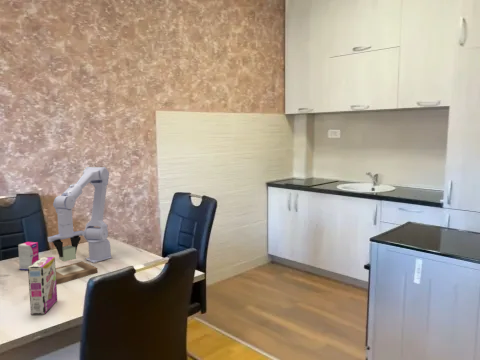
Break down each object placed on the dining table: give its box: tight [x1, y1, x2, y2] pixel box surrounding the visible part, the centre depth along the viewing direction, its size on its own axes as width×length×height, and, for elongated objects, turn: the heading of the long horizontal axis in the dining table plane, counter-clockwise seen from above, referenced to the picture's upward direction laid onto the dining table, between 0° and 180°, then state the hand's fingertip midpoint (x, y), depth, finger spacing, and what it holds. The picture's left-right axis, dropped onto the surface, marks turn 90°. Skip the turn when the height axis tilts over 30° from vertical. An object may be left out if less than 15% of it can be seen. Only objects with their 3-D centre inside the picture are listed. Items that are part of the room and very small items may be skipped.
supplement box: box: [17, 241, 40, 272], centre depth 175 cm, size 6×6×12 cm
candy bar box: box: [27, 256, 58, 315], centre depth 135 cm, size 11×5×16 cm, turn 5°
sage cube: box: [58, 245, 77, 262], centre depth 166 cm, size 5×5×5 cm
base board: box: [55, 261, 99, 286], centre depth 167 cm, size 18×14×2 cm
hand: (67, 255), depth 166 cm, fingers closed on sage cube, 5 cm apart
